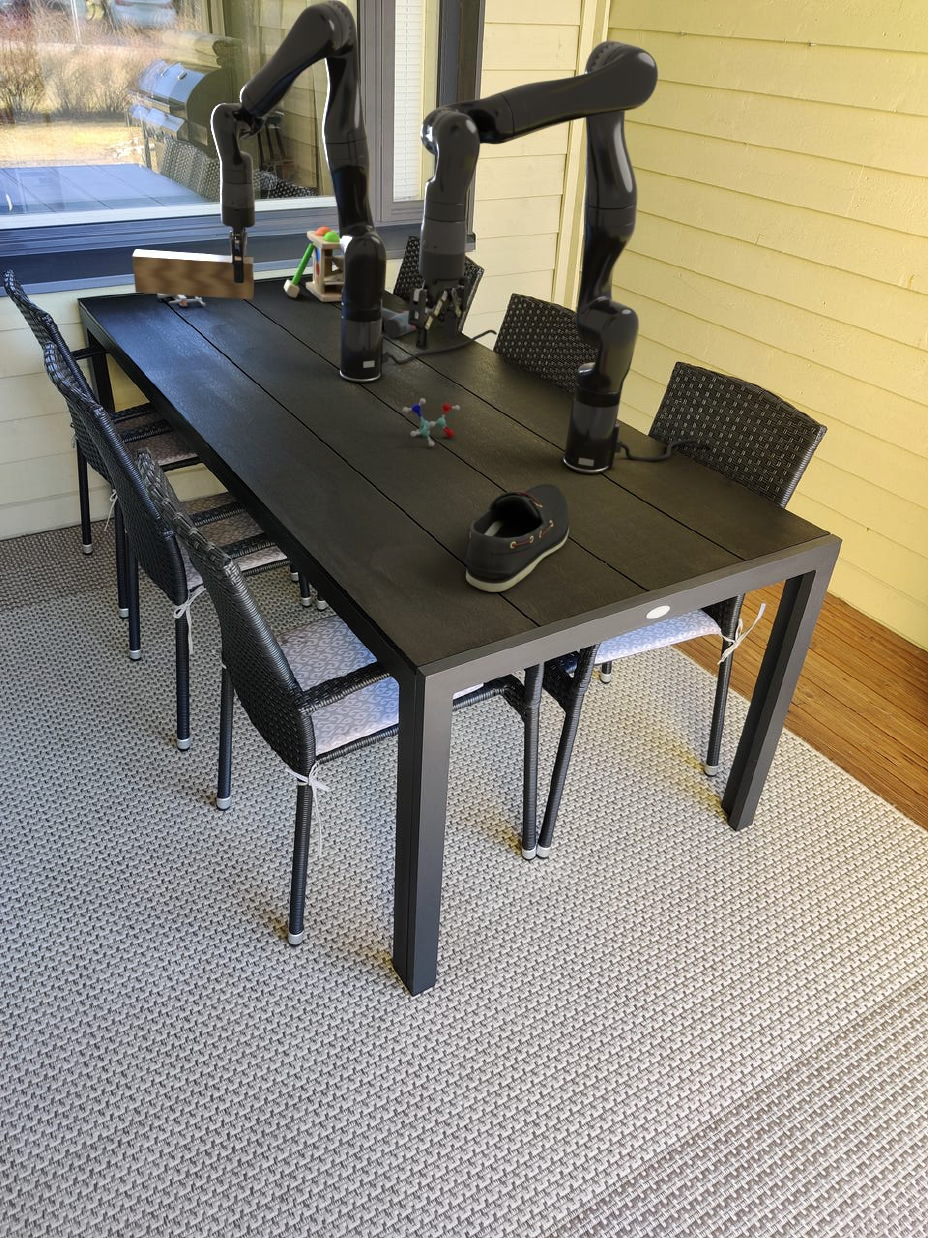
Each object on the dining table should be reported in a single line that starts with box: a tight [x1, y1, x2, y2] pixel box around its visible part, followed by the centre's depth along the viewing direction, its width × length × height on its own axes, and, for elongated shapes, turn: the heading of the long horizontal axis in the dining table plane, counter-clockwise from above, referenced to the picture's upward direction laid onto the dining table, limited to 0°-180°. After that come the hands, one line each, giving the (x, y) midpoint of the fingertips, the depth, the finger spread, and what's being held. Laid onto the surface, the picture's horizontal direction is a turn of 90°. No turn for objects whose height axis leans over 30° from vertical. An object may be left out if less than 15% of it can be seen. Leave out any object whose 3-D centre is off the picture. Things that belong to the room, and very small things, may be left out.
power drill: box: [381, 306, 435, 339], centre depth 263 cm, size 5×19×20 cm
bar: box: [132, 249, 255, 300], centre depth 228 cm, size 26×6×8 cm, turn 98°
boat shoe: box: [464, 483, 570, 593], centre depth 168 cm, size 13×33×10 cm, turn 147°
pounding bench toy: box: [283, 226, 345, 303], centre depth 277 cm, size 23×14×18 cm, turn 116°
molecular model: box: [402, 398, 461, 448], centre depth 203 cm, size 12×10×10 cm
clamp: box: [156, 294, 207, 307], centre depth 265 cm, size 15×2×10 cm
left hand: (239, 278), depth 230 cm, fingers closed on bar, 5 cm apart
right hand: (436, 343), depth 169 cm, fingers open, 8 cm apart
